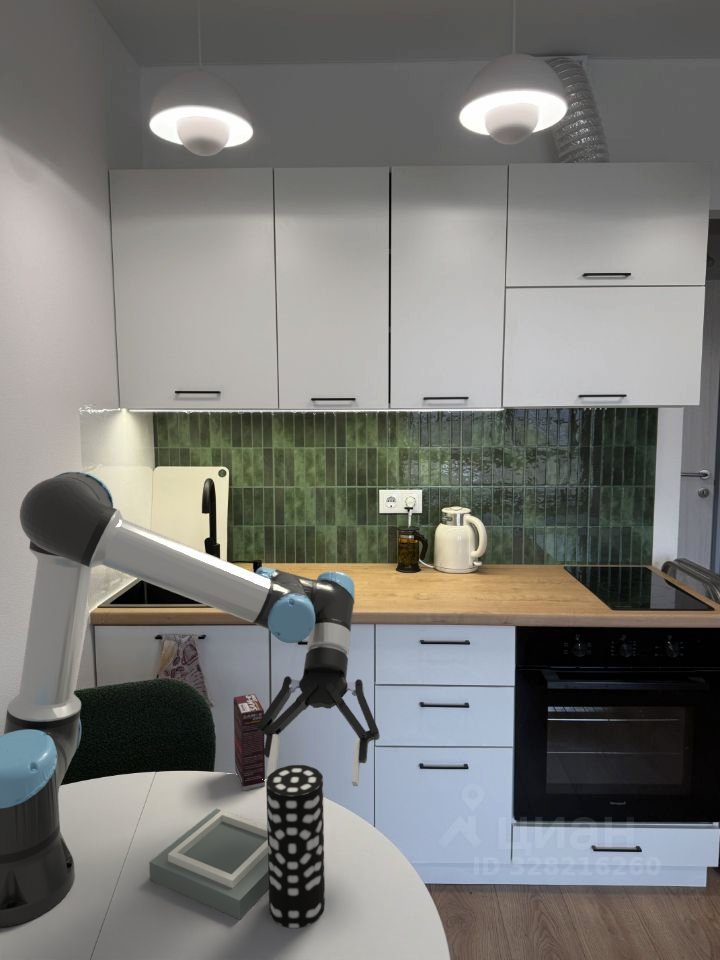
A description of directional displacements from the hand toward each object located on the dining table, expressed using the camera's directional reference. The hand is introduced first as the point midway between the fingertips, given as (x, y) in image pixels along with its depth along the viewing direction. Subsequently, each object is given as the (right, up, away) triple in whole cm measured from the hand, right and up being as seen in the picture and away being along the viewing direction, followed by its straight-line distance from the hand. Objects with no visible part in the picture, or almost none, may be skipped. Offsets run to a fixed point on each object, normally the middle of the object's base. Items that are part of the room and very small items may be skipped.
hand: (312, 781), depth 102 cm
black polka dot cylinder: (-2, -17, -5) cm, 17 cm away
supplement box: (-15, -13, +30) cm, 36 cm away
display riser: (-14, -16, +4) cm, 22 cm away
